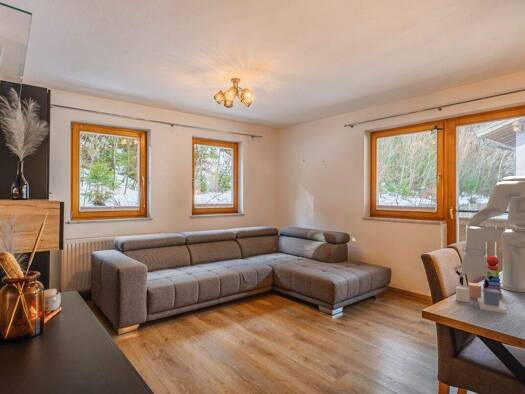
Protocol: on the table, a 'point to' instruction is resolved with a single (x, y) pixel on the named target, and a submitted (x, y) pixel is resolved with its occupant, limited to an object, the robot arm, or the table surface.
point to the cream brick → (462, 293)
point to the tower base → (490, 307)
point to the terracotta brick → (474, 290)
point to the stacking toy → (495, 281)
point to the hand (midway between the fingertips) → (473, 286)
